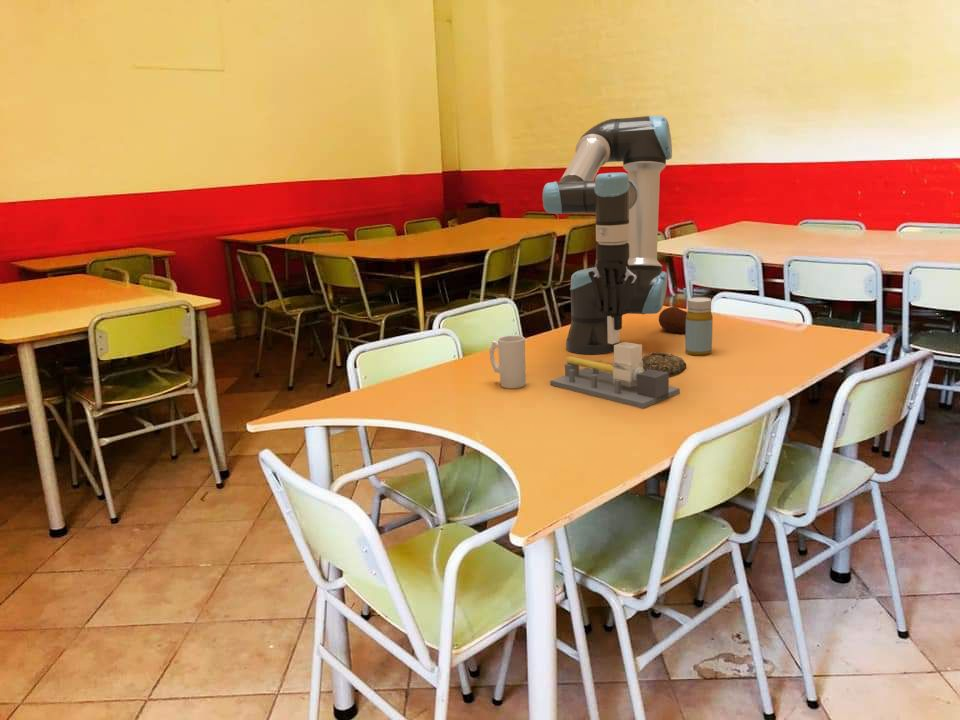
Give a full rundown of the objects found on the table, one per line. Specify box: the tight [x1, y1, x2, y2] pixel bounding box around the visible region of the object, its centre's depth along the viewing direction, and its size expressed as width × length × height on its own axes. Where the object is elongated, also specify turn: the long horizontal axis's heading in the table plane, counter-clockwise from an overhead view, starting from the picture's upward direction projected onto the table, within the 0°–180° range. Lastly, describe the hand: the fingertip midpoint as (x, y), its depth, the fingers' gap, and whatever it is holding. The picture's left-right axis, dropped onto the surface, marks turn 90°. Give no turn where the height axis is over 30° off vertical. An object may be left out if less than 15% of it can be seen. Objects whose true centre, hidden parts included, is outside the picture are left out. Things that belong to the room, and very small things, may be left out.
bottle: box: [684, 297, 714, 357], centre depth 204 cm, size 7×7×15 cm
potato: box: [658, 306, 688, 334], centre depth 230 cm, size 8×12×8 cm, turn 50°
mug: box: [489, 335, 527, 390], centre depth 186 cm, size 10×7×12 cm, turn 54°
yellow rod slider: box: [549, 355, 681, 410], centre depth 179 cm, size 28×14×7 cm, turn 42°
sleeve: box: [612, 341, 643, 387], centre depth 174 cm, size 5×5×9 cm
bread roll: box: [642, 351, 687, 377], centre depth 192 cm, size 13×12×5 cm
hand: (613, 342), depth 177 cm, fingers closed
